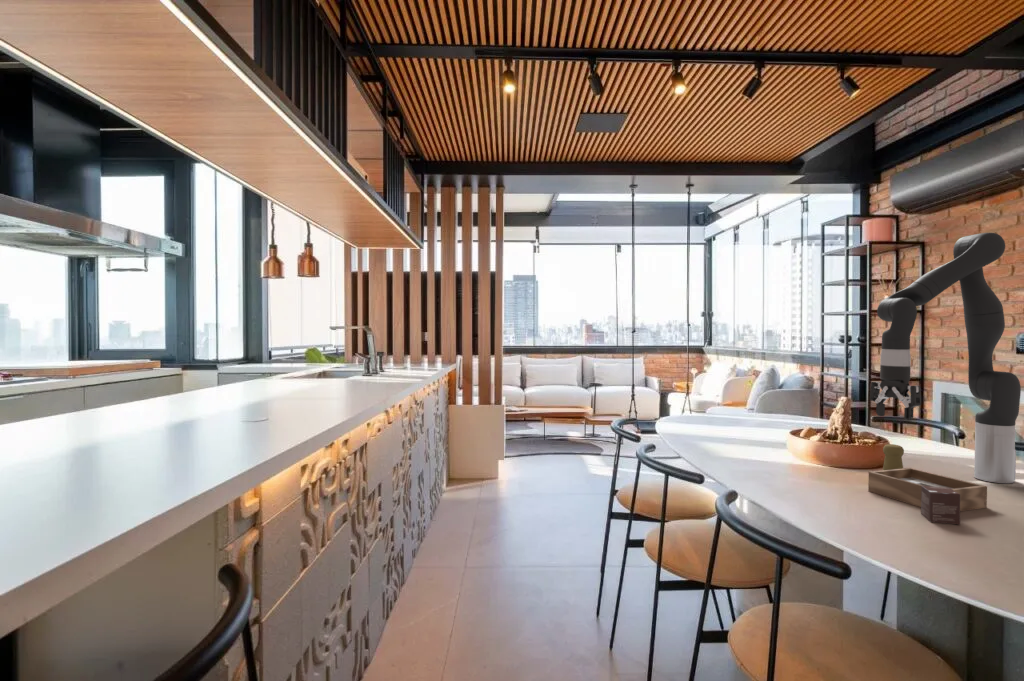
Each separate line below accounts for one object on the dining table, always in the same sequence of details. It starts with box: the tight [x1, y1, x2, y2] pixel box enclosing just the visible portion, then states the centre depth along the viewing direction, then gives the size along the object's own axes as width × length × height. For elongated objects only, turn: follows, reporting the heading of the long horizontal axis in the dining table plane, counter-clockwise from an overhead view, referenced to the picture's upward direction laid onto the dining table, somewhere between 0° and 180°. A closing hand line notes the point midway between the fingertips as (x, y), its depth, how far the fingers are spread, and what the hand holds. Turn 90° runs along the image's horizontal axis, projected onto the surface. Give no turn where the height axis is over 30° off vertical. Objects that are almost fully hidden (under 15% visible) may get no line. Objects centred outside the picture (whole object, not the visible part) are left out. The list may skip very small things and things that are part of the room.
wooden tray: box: [867, 467, 988, 512], centre depth 149 cm, size 16×20×6 cm
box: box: [920, 486, 961, 525], centre depth 133 cm, size 6×6×7 cm
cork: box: [882, 443, 905, 470], centre depth 167 cm, size 6×6×11 cm
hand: (894, 417), depth 167 cm, fingers open, 8 cm apart
